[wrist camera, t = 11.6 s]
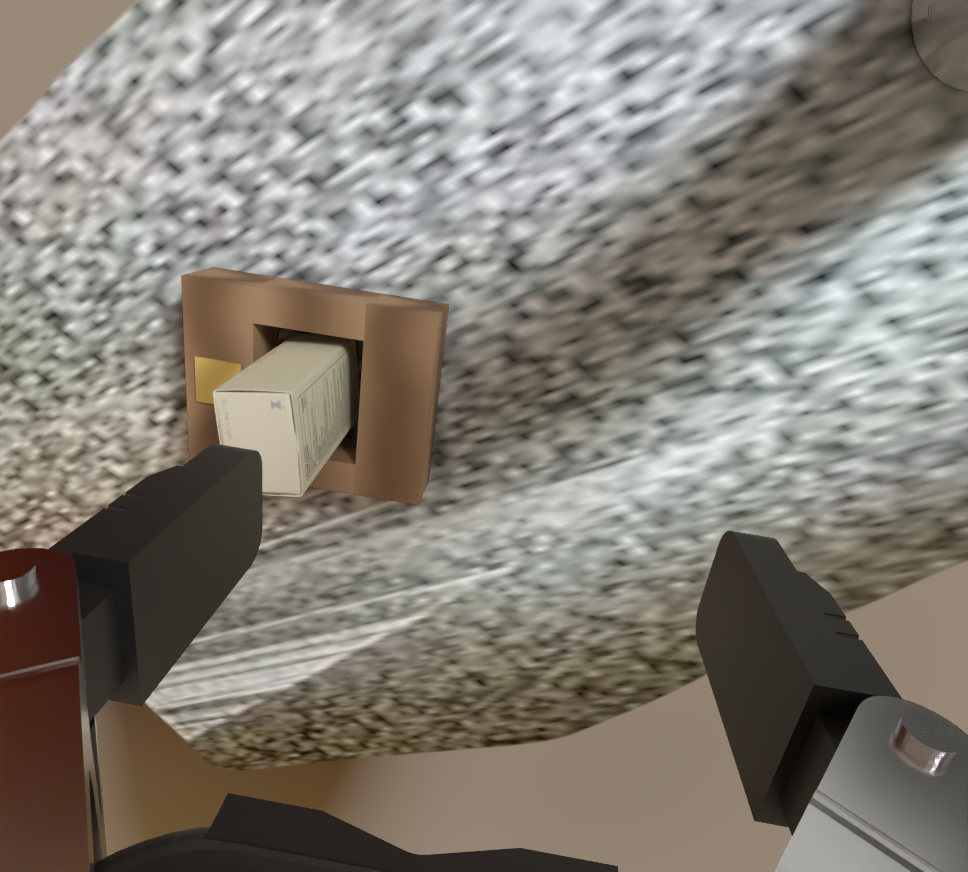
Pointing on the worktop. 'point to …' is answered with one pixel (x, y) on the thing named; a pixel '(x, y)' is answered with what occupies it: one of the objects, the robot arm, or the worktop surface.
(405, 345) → the brown square frame block
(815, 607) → the robot arm
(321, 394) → the skincare box
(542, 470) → the worktop surface
